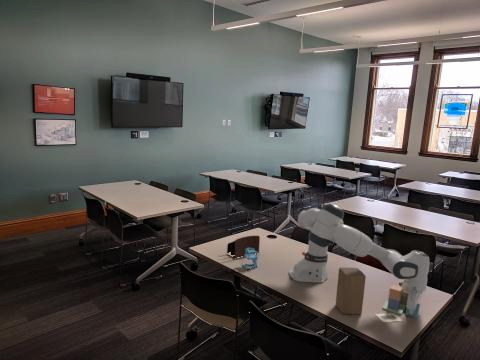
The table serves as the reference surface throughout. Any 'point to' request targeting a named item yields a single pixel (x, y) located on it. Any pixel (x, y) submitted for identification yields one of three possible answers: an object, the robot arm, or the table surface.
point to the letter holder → (243, 245)
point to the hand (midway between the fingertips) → (412, 310)
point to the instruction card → (388, 317)
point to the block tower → (404, 293)
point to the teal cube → (414, 311)
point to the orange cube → (395, 292)
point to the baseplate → (394, 306)
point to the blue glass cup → (251, 257)
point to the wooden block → (350, 290)
